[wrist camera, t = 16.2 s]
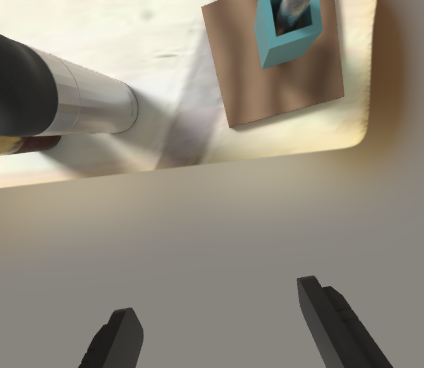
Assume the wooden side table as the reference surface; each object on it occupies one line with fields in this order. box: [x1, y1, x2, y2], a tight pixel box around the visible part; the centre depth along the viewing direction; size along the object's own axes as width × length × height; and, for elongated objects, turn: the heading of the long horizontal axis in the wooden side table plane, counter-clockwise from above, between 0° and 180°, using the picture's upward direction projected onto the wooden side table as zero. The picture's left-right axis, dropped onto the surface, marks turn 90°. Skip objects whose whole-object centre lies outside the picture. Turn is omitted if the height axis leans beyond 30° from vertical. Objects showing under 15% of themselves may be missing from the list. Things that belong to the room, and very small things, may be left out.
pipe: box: [274, 0, 311, 37], centre depth 20 cm, size 3×3×24 cm
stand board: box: [201, 0, 344, 128], centre depth 32 cm, size 18×18×2 cm
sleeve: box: [254, 0, 323, 69], centre depth 24 cm, size 5×5×8 cm
